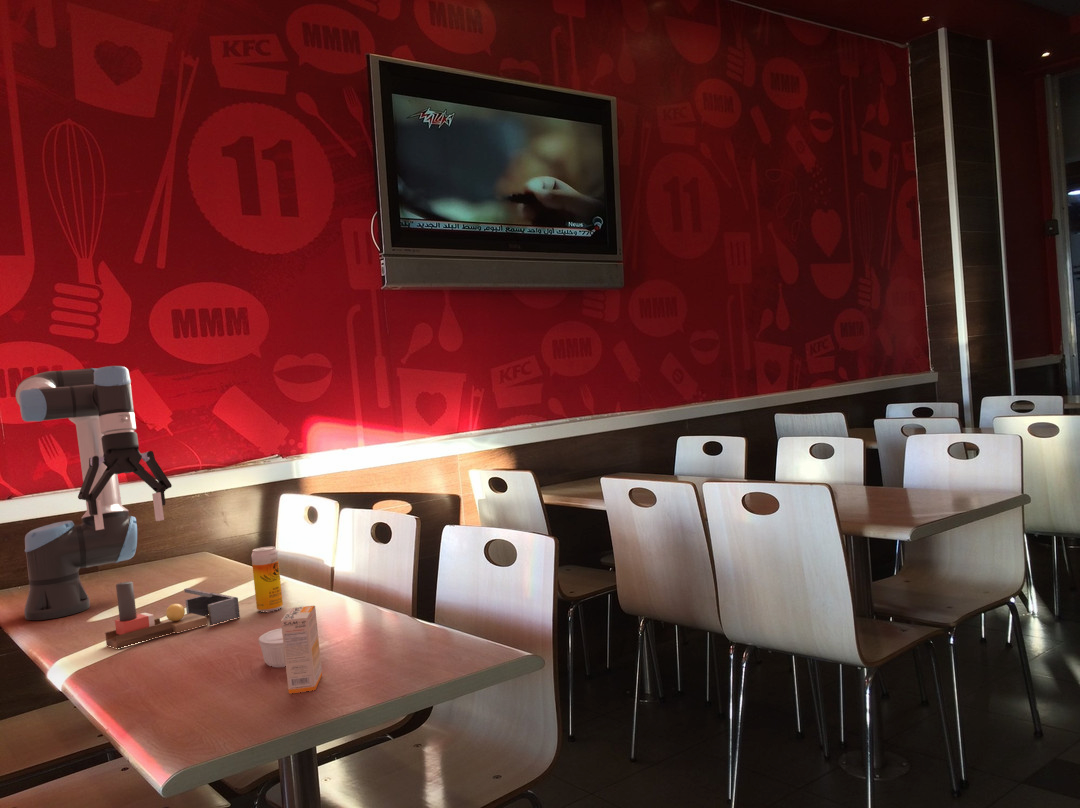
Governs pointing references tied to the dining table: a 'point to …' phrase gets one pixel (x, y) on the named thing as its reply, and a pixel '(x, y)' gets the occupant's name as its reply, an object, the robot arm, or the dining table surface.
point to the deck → (187, 622)
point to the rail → (138, 634)
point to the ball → (175, 612)
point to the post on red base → (130, 611)
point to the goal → (212, 606)
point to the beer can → (267, 579)
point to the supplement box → (301, 649)
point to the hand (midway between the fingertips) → (130, 525)
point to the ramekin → (273, 648)
